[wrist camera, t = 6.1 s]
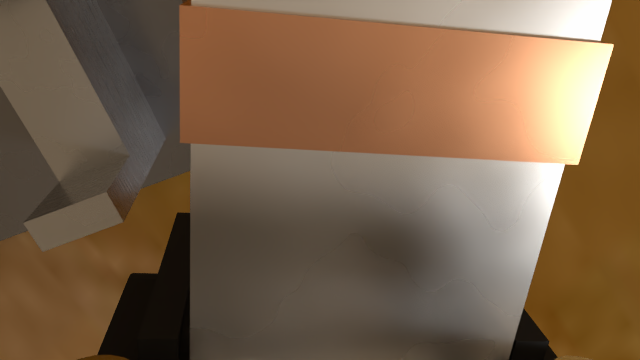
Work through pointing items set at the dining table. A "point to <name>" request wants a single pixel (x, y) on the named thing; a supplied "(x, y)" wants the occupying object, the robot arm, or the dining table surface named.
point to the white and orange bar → (377, 169)
